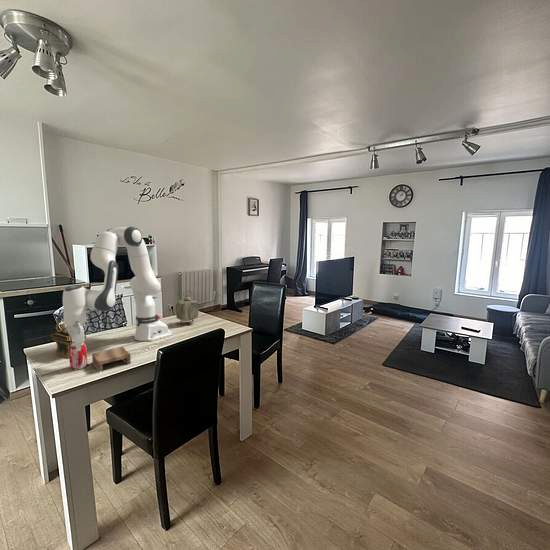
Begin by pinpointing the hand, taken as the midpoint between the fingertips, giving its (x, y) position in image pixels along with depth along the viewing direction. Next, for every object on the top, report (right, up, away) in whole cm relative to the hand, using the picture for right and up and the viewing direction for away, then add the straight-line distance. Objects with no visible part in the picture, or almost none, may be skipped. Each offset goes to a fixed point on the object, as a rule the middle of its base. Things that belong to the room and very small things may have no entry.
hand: (76, 347), depth 137 cm
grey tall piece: (+31, -2, +74) cm, 80 cm away
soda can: (0, -10, +2) cm, 11 cm away
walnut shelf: (+13, -10, +7) cm, 18 cm away
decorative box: (-17, -8, +18) cm, 26 cm away
